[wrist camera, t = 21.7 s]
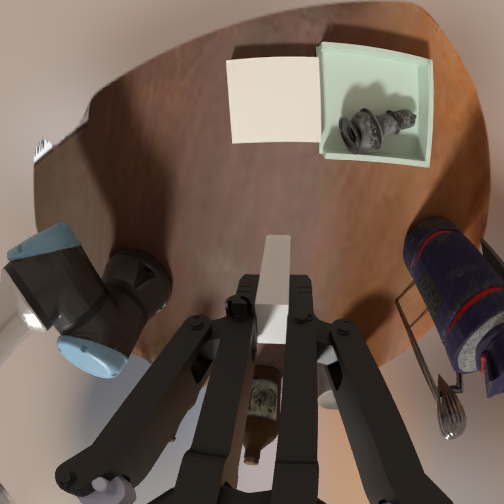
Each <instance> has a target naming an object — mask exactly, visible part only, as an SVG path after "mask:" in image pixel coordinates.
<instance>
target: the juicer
mask: <svg viewBox="0 0 504 504" xmlns="http://www.w3.org/2000/svg"><path fill="white" fill-rule="evenodd" d="M395 303H396V306H397V308H398V311H399V313H400V316H401V318H402V321H403V323H404V326H405V328H406V331H407V334H408V336H409V339H410V342H411V345H412V347H413V350H414V353H415V355H416V358H417V361H418V363H419V366H420V368H421V371H422V373H423V375H424V378H425V380H426V382H427V385H428V387H429V389H430V391H431V394H432V396H433V398H434V400H435V403H436V405H437V419H438V426H439V430H440V433H441V435H442V437H443V438H445V439H446V440H453V439H455V438H457V437H459V436H460V435H462V434H463V432H464V430H465V428H466V415H465V411H464V409H463V406H462V404H461V402H460V400H459V399H458V397H457V395H456V394H455V393H463V374H462V373H458V372H456V378H457V384H456V385H451V386H449V385H448V383H447V382H446V381H445V380H444V379H443V378H442V377H441V376H440V374H439V377H438V389H437V387H436V385H435V383H434V380H433V378H432V376H431V374H430V372H429V369H428V367H427V365H426V363H425V360H424V358H423V355H422V354H421V351H420V349H419V346H418V344H417V342H416V339H415V337H414V335H413V333H412V330H411V328H410V326H409V324H408V321H407V319H406V317H405V315H404V312H403V310H402V308H401V306H400V304H399V302H398V300H395Z"/></svg>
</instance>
